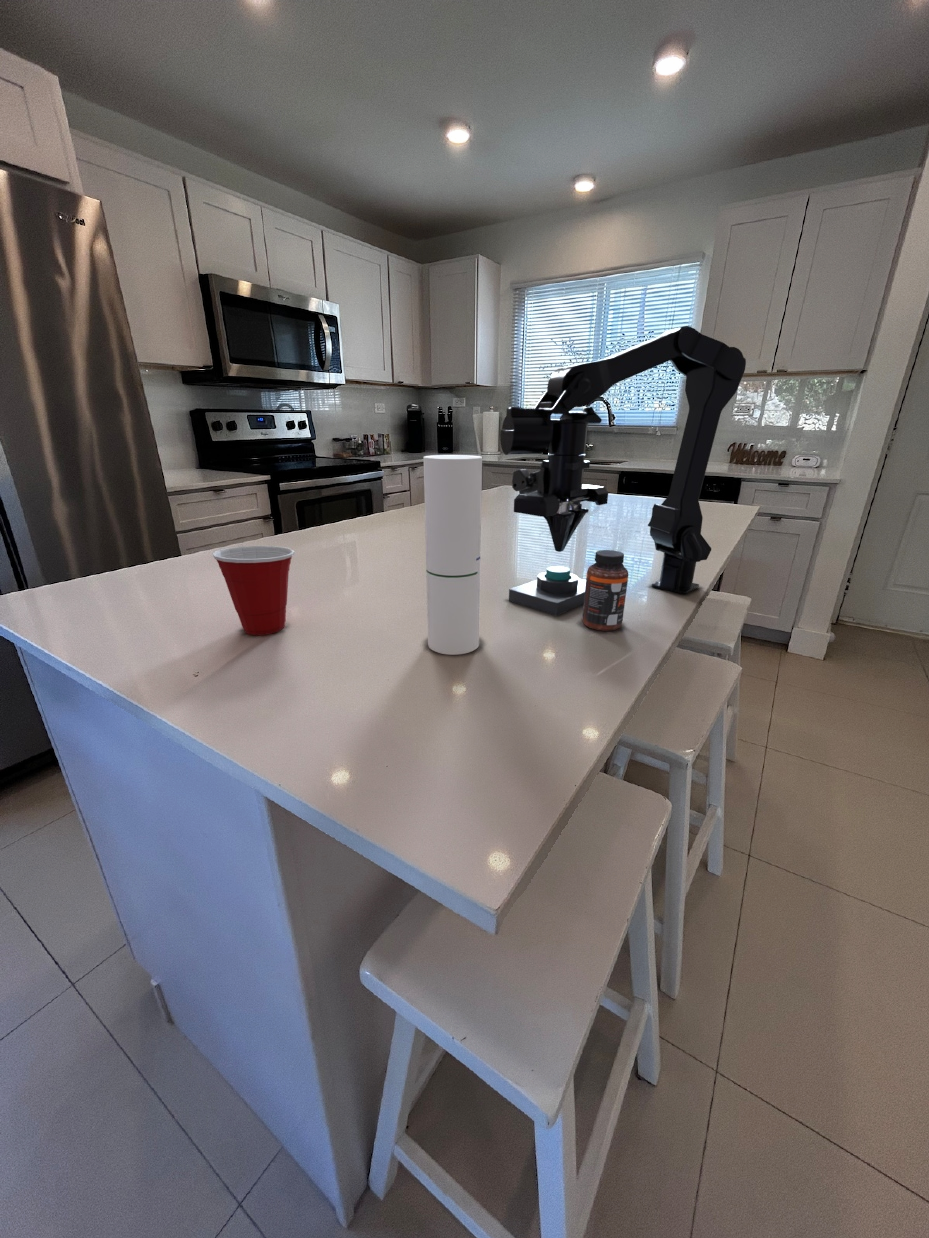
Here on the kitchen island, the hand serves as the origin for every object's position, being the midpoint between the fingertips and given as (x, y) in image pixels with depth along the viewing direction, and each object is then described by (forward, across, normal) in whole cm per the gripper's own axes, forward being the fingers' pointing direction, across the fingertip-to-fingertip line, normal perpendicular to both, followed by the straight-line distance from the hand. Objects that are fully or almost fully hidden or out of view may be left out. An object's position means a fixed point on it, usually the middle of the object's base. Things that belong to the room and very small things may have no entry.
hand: (559, 551), depth 86 cm
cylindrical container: (+9, +26, +1) cm, 27 cm away
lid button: (+5, 0, 0) cm, 5 cm away
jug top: (+8, 0, 0) cm, 9 cm away
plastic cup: (+9, +42, -23) cm, 49 cm away
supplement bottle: (+9, +5, +12) cm, 16 cm away
